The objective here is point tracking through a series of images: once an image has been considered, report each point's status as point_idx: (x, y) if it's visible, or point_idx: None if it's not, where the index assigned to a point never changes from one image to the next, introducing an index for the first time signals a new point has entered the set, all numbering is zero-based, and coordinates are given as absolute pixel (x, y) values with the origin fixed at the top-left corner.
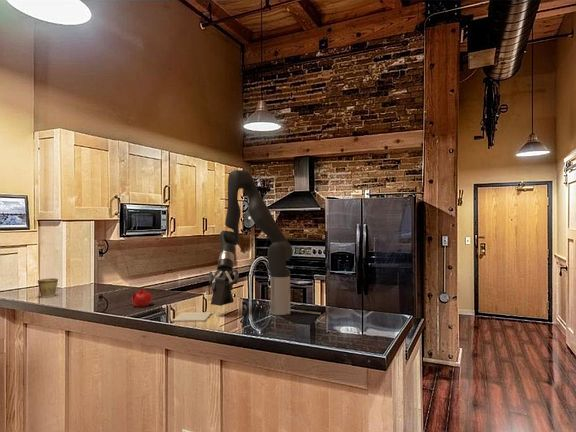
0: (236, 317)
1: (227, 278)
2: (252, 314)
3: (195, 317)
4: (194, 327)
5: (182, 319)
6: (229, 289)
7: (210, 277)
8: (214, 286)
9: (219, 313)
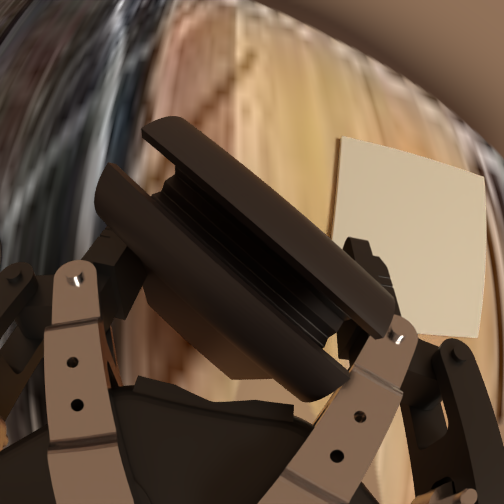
0: None
1: (113, 190)
2: (73, 255)
3: (402, 203)
4: (364, 62)
5: (450, 176)
6: None
7: (476, 414)
8: (357, 261)
9: None
